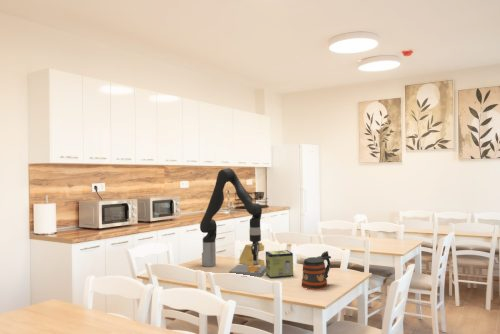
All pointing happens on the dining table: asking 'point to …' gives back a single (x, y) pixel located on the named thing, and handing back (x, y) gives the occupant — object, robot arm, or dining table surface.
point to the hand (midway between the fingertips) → (255, 259)
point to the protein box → (279, 264)
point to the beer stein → (316, 272)
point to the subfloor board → (244, 270)
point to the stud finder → (253, 268)
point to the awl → (256, 260)
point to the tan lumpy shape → (250, 255)
